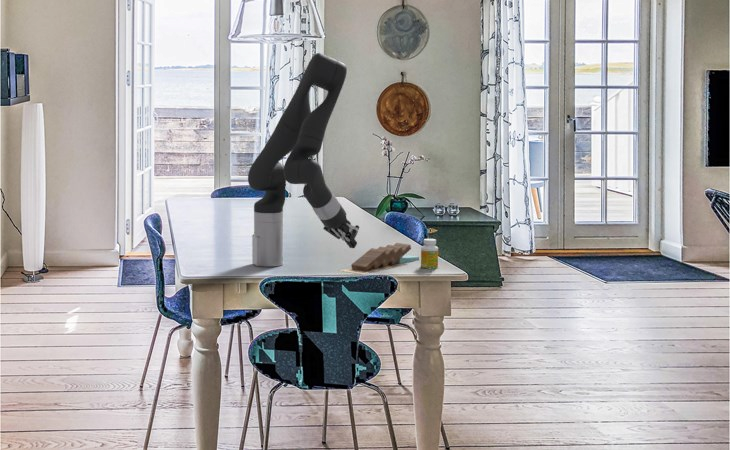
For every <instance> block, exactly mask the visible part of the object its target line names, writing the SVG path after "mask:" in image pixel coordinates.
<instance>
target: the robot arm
mask: <svg viewBox="0 0 730 450" xmlns="http://www.w3.org/2000/svg"><path fill="white" fill-rule="evenodd" d="M347 68H348V67H347V65H346V64H345V63H343V62H342V61H340V60H337V59H335V58H333V57H331V56H328V55H325V54H323V53H320V52H317V53H315V54H314V55H313V56H312V57H311V58H310V61H309V62H308V64H307V66H306V67H305V71H304V72H303V74H302V77H301V79H300V81H299V84H298V86H297V88H296V90H295V92H294V94H293V96H292V98H291V99H290V102H289V103H288V105H287V106H286V108H285V110H284V111H283V113H282V115H281V117H280V118H279V120H278V122H277V123H276V126H275V128H274V129H273V132H272V133H271V135H270V137H269V138H268V140H267V142H266V144H265V146H264V147H263V149H261V152H260V153H259V154H258V156H257V157H256V159H254V161H253V163H252V164H251V166H250V167H249V170H248V174H247V183H248V185H249V187H250V188H251V189H252V190H254V191H258V192H265V194H264V196H263V197H261V199H259V200H257V201H255V202H254V204H253V231H254V232H253V234H252V235H251V238H252V239H251V240H252V241H251V242H252V243H251V245H252V246H251V247H252V252H251V253H252V255H251V256H252V258H251V259H252V262H251V263H252V264H253V265H255V266H256V267H279V266H282V265H284V264H283V262H284V261H283V260H284V255H283V254H284V244H283V243H284V228H283V227H284V206H285V202H286V190H287V183H288V184H291V185H304V187H303V188H302V190H303V191H302V192H303V196H304V198H305V199H306V201H307V202H308V203H309V205H310V206H311V209H312V210H313V212H314V214H315V215H316V216H317V218H318V220H320V222H321V223H322V224H323V226H324V227H323V230H324V231H325V232H327V233H329V234H330V235H332V236H333V237H334V238H336V239H337V240H342V241H343V242H345V243H346V245H347V246H348V247H349V248H350V249H355V248H356V246H357V245H358V242H357V240H356V237H357V235H358V233H359V230H360V226H359V225H357V224H356V225H352V222H351V221H349V220H348V219H347V212H346V210H345V209H344V208H343V206H342V204H341V203H340V201H339V200H338V199H337V197H336V196H335V195H334V194H333V193H332V191H331V189H330V188H329V187H328V186H327V183H326V180H325V177H324V173H323V170H322V167H321V165H320V163H319V162H318V161H317V160H315V159H313V158H311V157H313V156H316V155H318V154H320V152H321V149H322V145H323V141H324V138H325V134H326V130H327V126H328V124H329V121H330V119H331V116H332V114H333V111H334V110H335V106H336V104H337V102H338V99H339V97H340V94H341V92H342V89H343V86H344V84H345V81H346V77H347V70H348V69H347ZM313 86H315V87H317V88H320V89H323V90H325V91H327V94H326V96H325V98H324V100H323V101H322V102H321V103H320V104H319V105H317V107H316V108H315V109H313V110H312V111H311V106H310V90H311V88H312V87H313ZM288 154H289V155H288ZM287 155H288V157H287V158H286V161H285V162H284V165H283V164H282V163H281V162H280V161H281V160H282V159H283V158H284V157H285V156H287Z"/></svg>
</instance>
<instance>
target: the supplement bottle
mask: <svg viewBox="0 0 730 450" xmlns="http://www.w3.org/2000/svg"><path fill="white" fill-rule="evenodd" d="M438 267H439V247H438V246H437V239H435V238H424V239H423V245H422V246H421V248H420V268H421V269H424V270H435V269H438Z"/></svg>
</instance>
